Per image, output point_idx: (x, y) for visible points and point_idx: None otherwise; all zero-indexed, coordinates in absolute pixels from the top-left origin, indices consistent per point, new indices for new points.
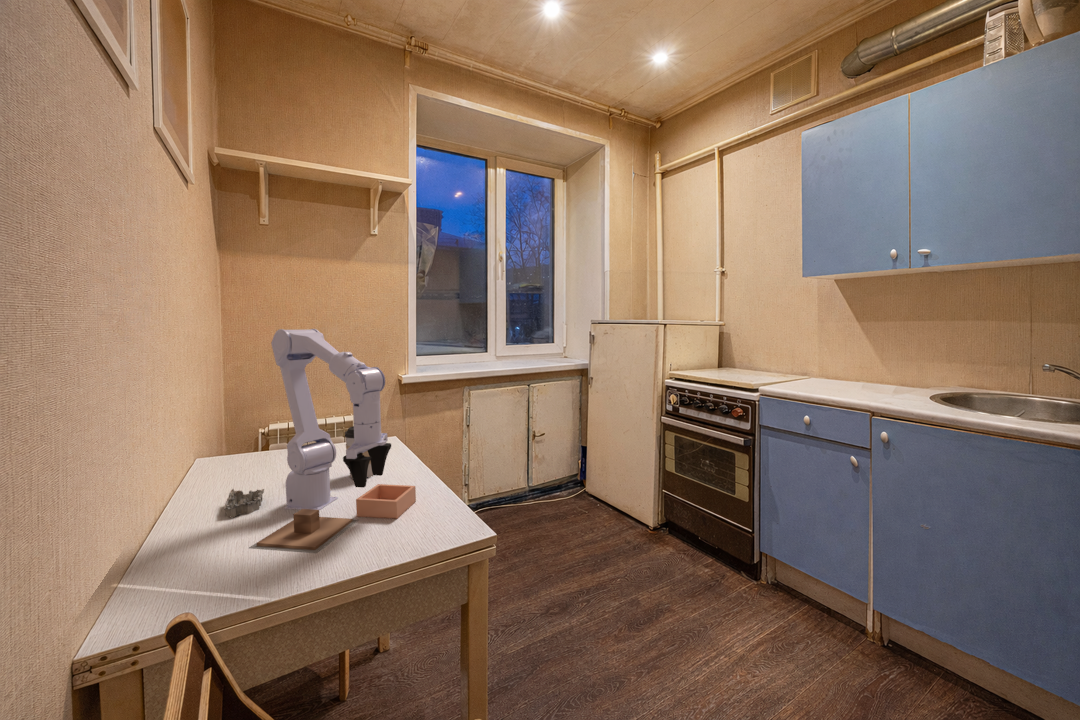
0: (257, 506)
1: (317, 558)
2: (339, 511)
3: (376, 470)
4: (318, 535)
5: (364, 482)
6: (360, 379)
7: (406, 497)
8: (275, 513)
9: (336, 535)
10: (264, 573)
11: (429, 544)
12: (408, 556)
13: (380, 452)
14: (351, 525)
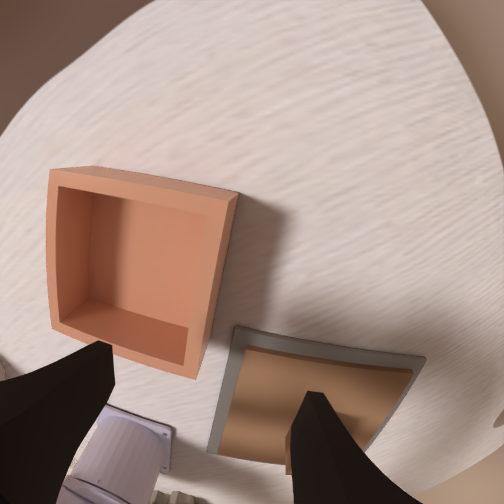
0: (178, 499)
1: (439, 348)
2: (163, 389)
3: (101, 387)
4: (349, 394)
5: (334, 411)
6: None
7: (134, 180)
8: (186, 477)
9: (342, 356)
10: (451, 404)
11: (424, 61)
12: (478, 119)
13: (25, 453)
14: (279, 339)
